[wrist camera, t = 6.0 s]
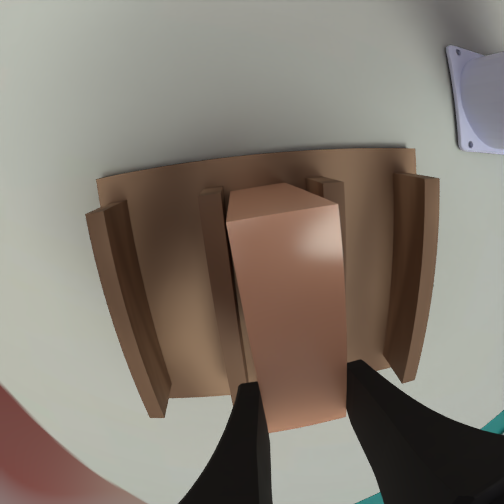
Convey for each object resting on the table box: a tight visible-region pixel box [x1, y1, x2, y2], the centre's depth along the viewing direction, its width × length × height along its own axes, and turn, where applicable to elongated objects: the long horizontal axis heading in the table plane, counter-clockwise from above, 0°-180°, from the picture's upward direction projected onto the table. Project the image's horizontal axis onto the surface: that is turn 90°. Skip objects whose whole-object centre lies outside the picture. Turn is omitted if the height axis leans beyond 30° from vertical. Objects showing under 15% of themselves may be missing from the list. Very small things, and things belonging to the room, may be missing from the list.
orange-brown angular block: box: [226, 183, 347, 433], centre depth 13 cm, size 3×8×9 cm, turn 9°
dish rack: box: [85, 148, 439, 418], centre depth 17 cm, size 19×16×4 cm
